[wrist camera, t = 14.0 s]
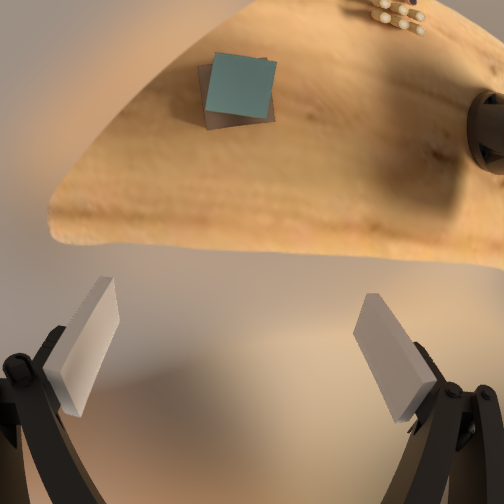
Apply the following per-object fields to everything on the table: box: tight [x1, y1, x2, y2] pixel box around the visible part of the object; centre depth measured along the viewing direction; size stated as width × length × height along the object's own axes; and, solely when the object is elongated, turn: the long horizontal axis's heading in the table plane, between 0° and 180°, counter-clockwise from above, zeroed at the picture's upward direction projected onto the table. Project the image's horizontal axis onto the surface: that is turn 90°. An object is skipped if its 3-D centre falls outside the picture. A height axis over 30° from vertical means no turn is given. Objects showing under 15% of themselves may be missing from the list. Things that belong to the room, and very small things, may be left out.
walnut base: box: [198, 58, 275, 130], centre depth 34 cm, size 8×8×5 cm
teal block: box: [205, 53, 277, 118], centre depth 27 cm, size 5×5×11 cm
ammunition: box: [371, 0, 426, 36], centre depth 29 cm, size 5×7×8 cm
